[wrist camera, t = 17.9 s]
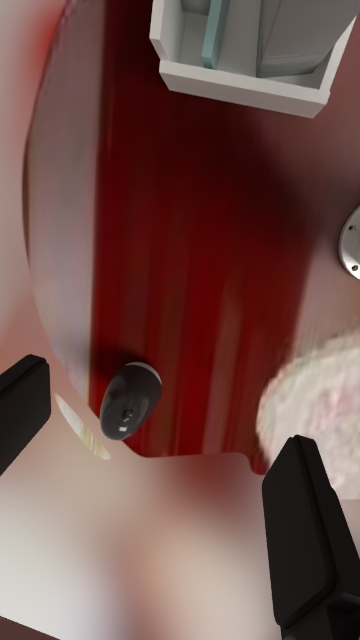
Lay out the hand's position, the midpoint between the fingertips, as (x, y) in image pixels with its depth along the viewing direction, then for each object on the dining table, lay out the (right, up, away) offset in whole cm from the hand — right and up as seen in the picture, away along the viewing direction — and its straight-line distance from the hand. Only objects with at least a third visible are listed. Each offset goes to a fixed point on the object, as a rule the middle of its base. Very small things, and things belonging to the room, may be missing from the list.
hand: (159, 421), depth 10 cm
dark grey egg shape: (-7, -7, +43) cm, 44 cm away
